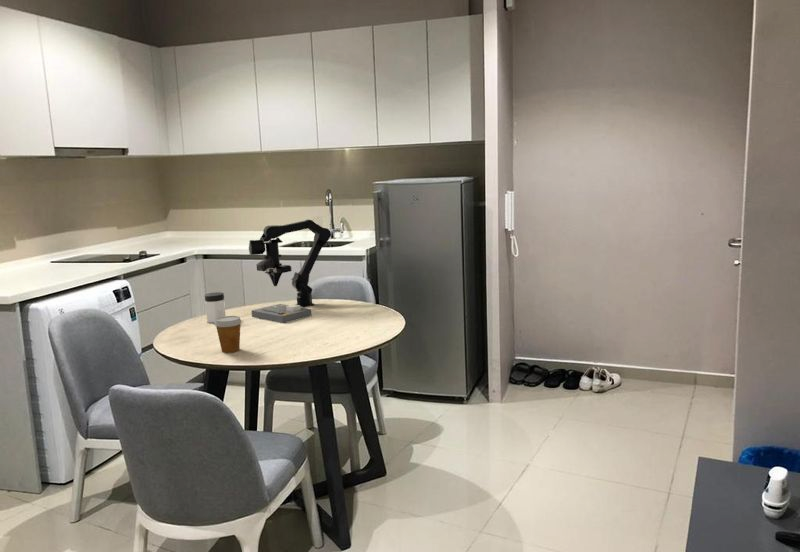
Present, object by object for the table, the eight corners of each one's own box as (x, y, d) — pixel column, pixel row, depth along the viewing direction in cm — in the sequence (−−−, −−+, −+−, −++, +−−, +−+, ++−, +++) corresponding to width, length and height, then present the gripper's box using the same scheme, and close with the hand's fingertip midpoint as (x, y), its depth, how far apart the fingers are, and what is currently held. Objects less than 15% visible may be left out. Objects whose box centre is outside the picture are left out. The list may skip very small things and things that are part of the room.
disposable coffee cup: (246, 346, 245) (243, 314, 243) (241, 353, 236) (238, 320, 234) (220, 347, 245) (217, 316, 243) (214, 354, 235) (211, 322, 233)
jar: (211, 324, 283) (209, 296, 281) (202, 321, 289) (200, 294, 287) (230, 320, 289) (228, 293, 287) (221, 317, 295) (218, 291, 293)
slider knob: (281, 311, 286) (281, 304, 285) (286, 312, 284) (285, 305, 283) (276, 312, 284) (275, 305, 283) (280, 313, 282) (280, 306, 281)
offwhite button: (294, 309, 293) (294, 304, 293) (300, 310, 290) (300, 305, 290) (286, 311, 290) (286, 306, 290) (292, 312, 287) (292, 307, 287)
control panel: (280, 310, 305) (280, 303, 304) (311, 315, 290) (311, 308, 290) (251, 317, 293) (251, 310, 293) (282, 323, 278) (282, 316, 278)
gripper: (245, 254, 303) (248, 287, 305) (271, 256, 291) (274, 291, 293) (265, 251, 311) (267, 283, 314) (291, 253, 299) (293, 286, 302)
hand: (275, 286), depth 305 cm, fingers closed
